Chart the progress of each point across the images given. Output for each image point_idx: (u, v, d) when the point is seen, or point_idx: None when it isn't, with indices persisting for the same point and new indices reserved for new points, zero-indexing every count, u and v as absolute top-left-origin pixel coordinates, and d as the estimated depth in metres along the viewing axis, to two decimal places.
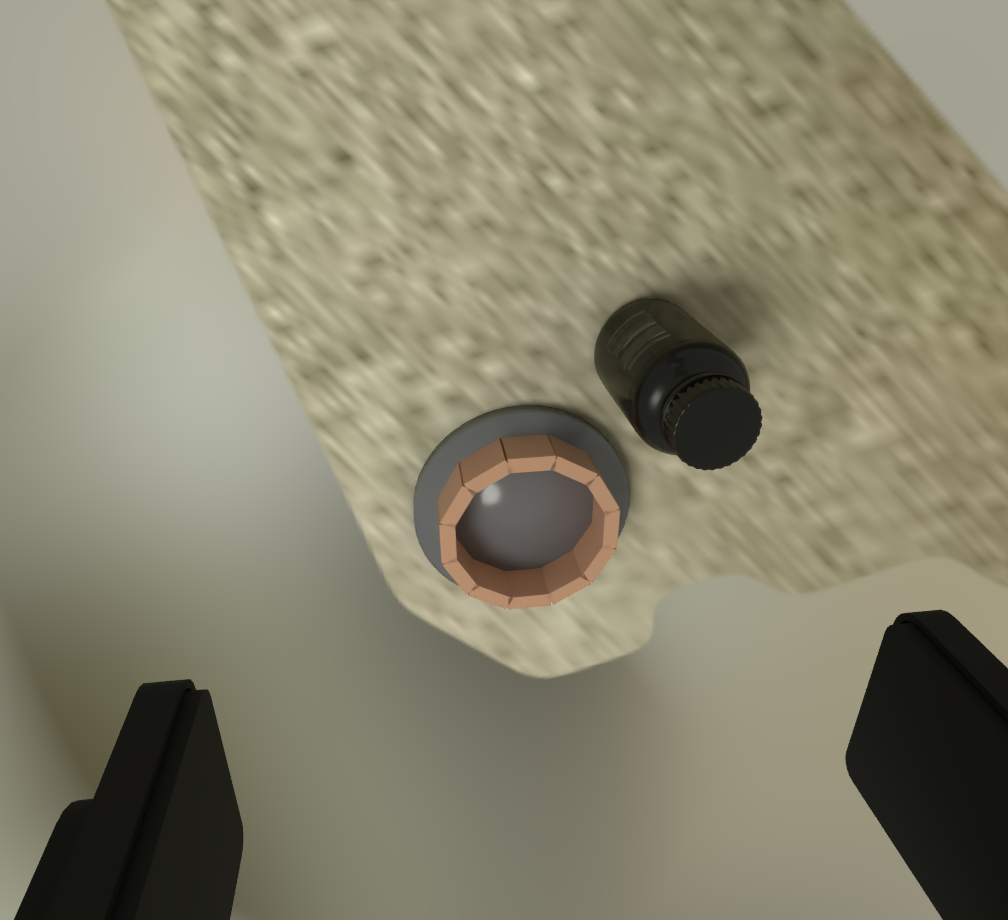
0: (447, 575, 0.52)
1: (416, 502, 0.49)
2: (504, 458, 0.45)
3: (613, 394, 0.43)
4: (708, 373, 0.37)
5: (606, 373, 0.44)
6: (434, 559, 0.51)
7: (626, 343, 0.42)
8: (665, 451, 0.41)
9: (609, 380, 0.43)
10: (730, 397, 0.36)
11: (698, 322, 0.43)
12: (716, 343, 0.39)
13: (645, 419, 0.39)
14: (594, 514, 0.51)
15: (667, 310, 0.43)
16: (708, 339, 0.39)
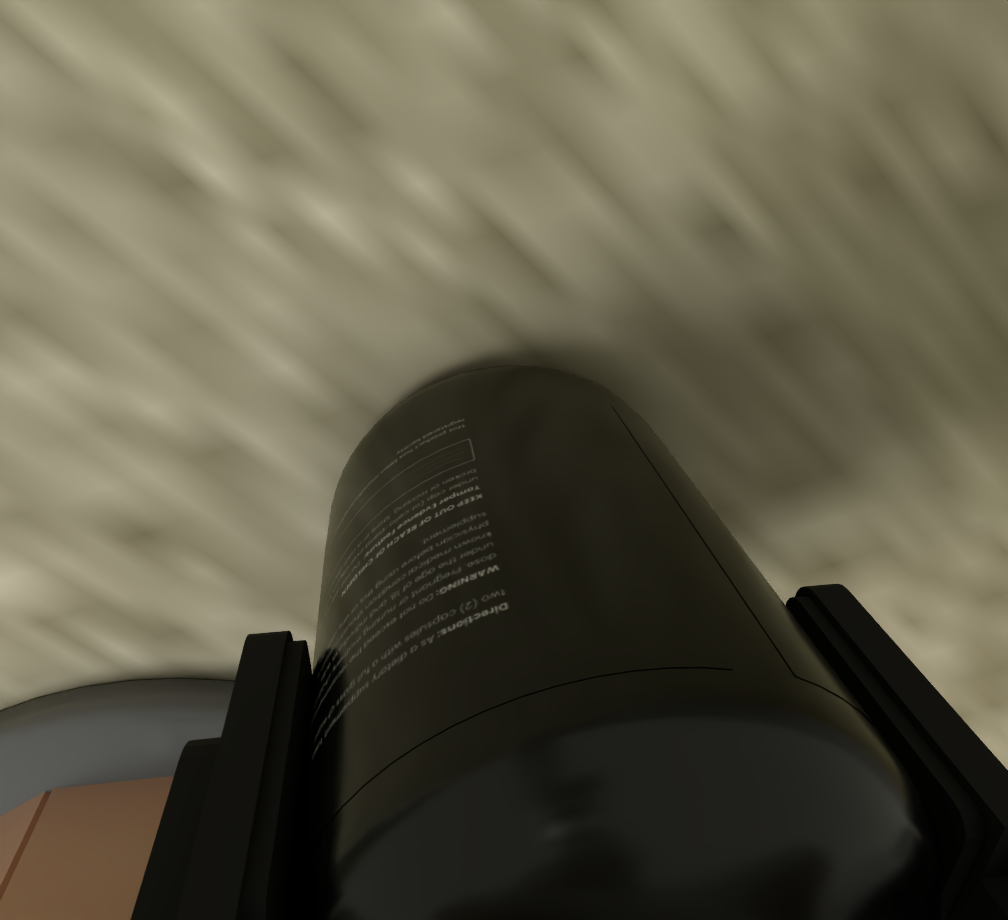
0: None
1: None
2: None
3: None
4: None
5: None
6: None
7: (352, 579, 0.10)
8: None
9: None
10: None
11: (674, 474, 0.11)
12: (768, 703, 0.06)
13: None
14: None
15: (550, 424, 0.11)
16: (716, 660, 0.07)
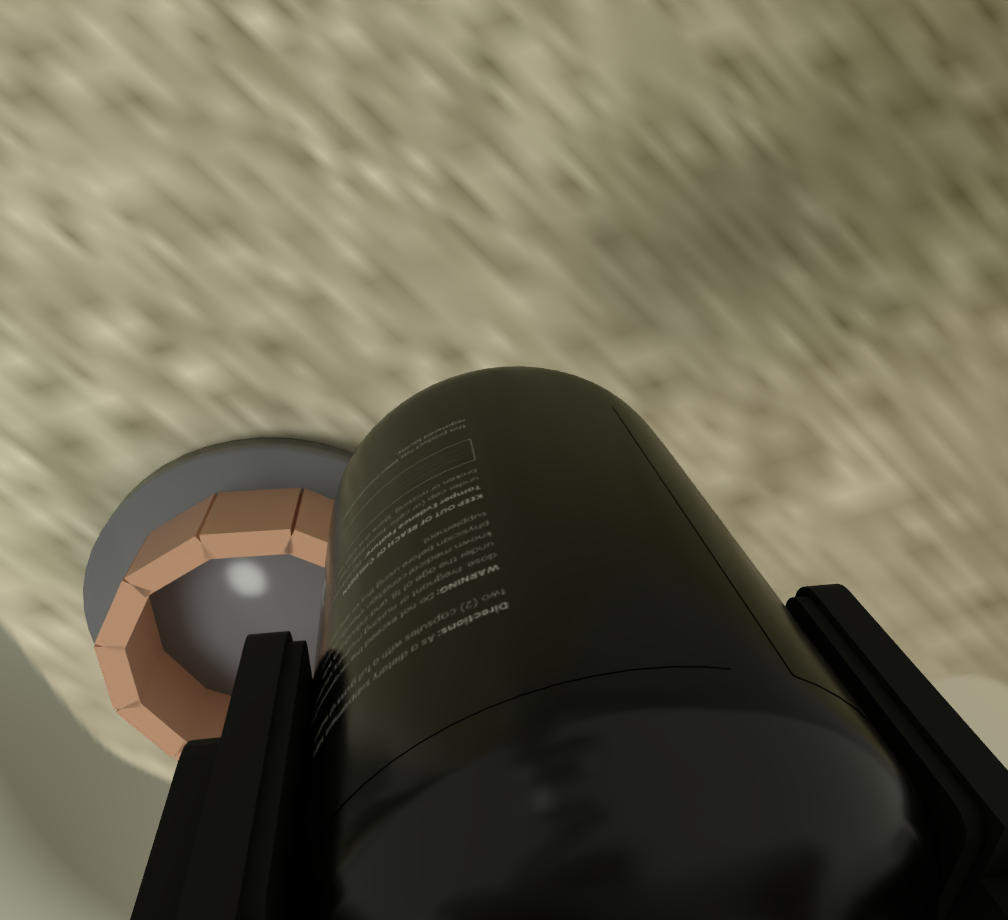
0: None
1: (86, 599, 0.29)
2: (197, 532, 0.25)
3: None
4: None
5: None
6: None
7: (354, 579, 0.10)
8: None
9: None
10: None
11: (674, 475, 0.11)
12: (766, 702, 0.06)
13: None
14: None
15: (550, 424, 0.11)
16: (715, 660, 0.07)
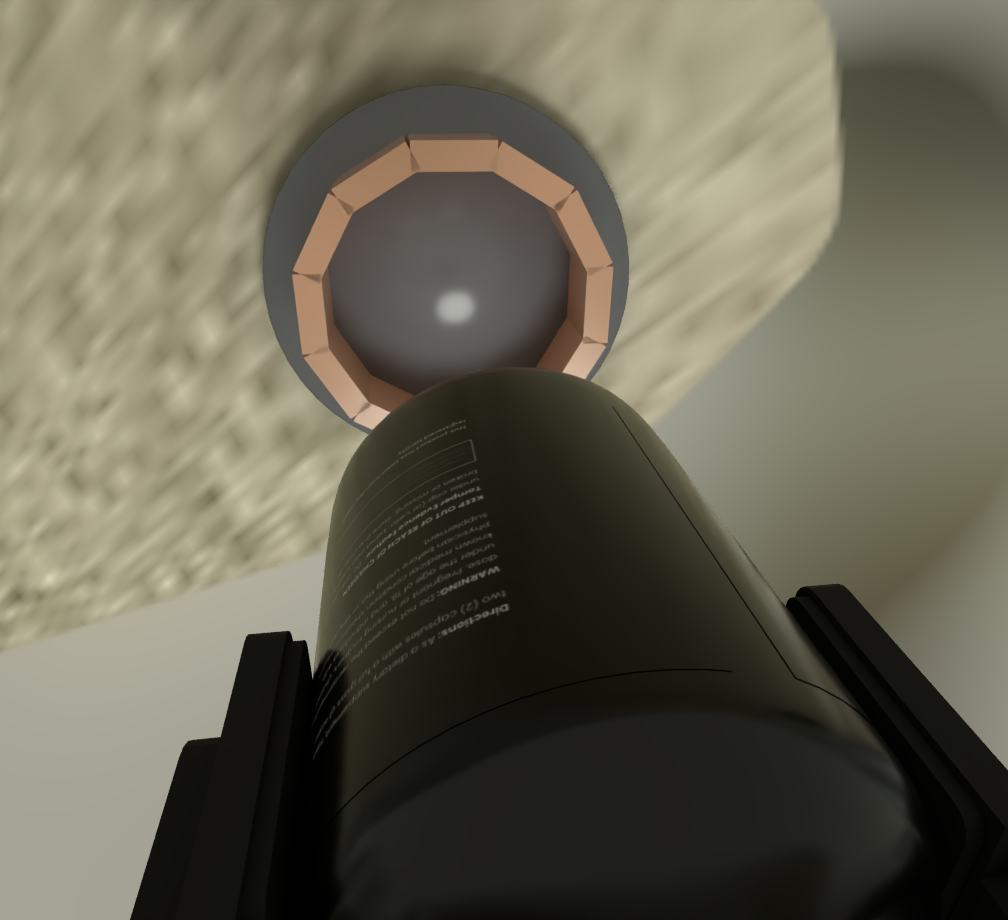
0: None
1: None
2: (306, 355, 0.28)
3: None
4: None
5: None
6: None
7: (354, 580, 0.10)
8: None
9: None
10: None
11: (675, 476, 0.11)
12: (768, 705, 0.06)
13: None
14: None
15: (551, 425, 0.11)
16: (716, 662, 0.07)
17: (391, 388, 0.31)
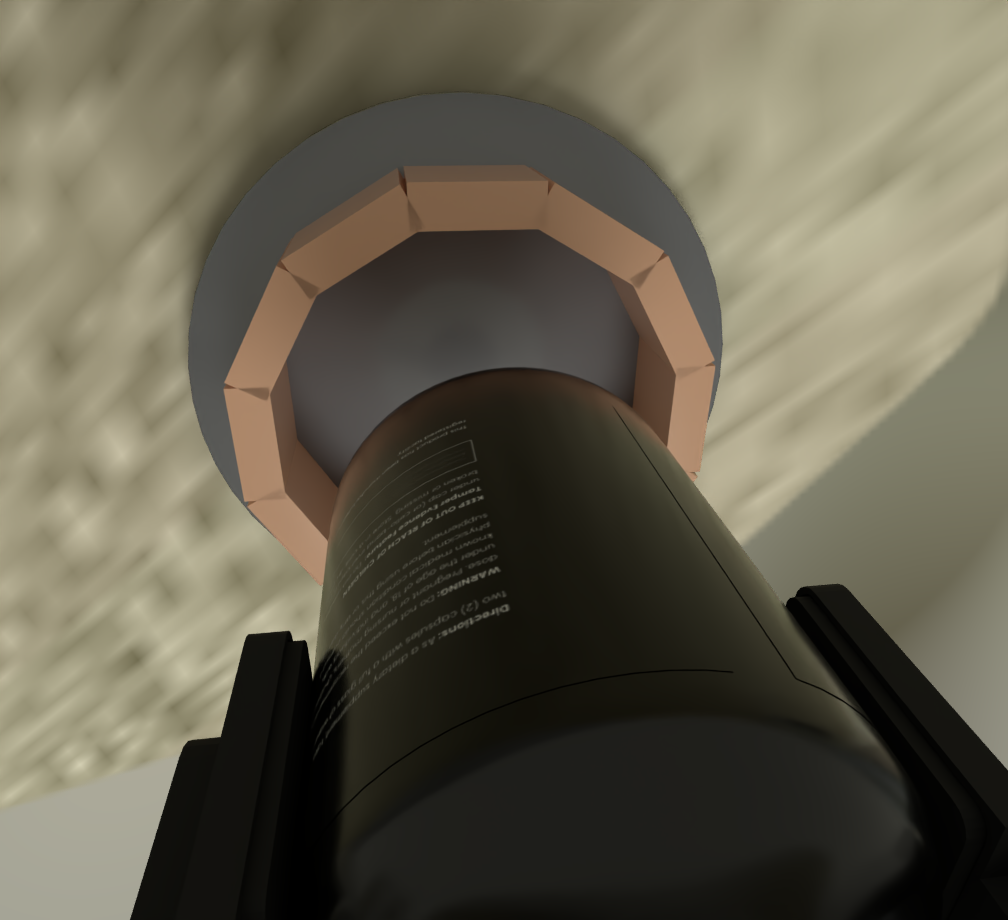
0: None
1: None
2: None
3: None
4: None
5: None
6: None
7: (354, 581, 0.10)
8: None
9: None
10: None
11: (675, 476, 0.11)
12: (769, 706, 0.06)
13: None
14: None
15: (551, 425, 0.11)
16: (717, 662, 0.07)
17: None
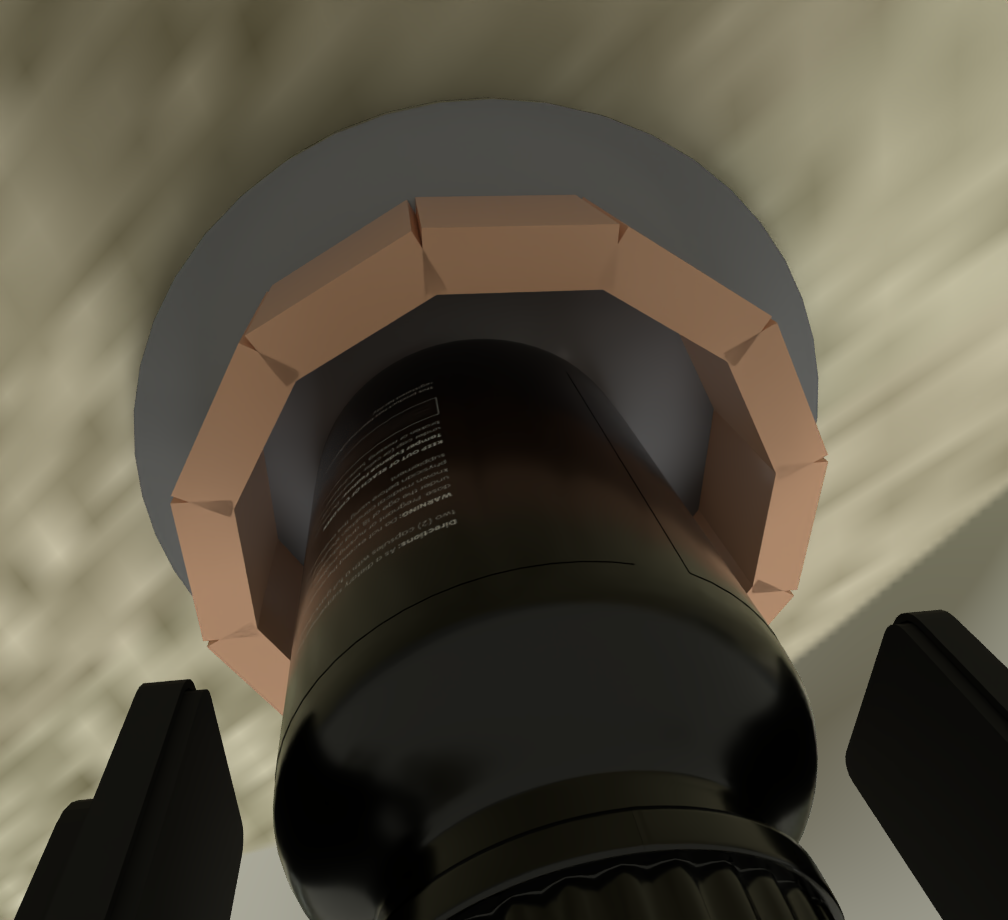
0: None
1: None
2: None
3: None
4: (593, 842, 0.06)
5: None
6: None
7: (332, 516, 0.11)
8: None
9: None
10: None
11: (616, 428, 0.12)
12: (660, 588, 0.08)
13: None
14: None
15: (507, 384, 0.12)
16: (622, 558, 0.08)
17: None
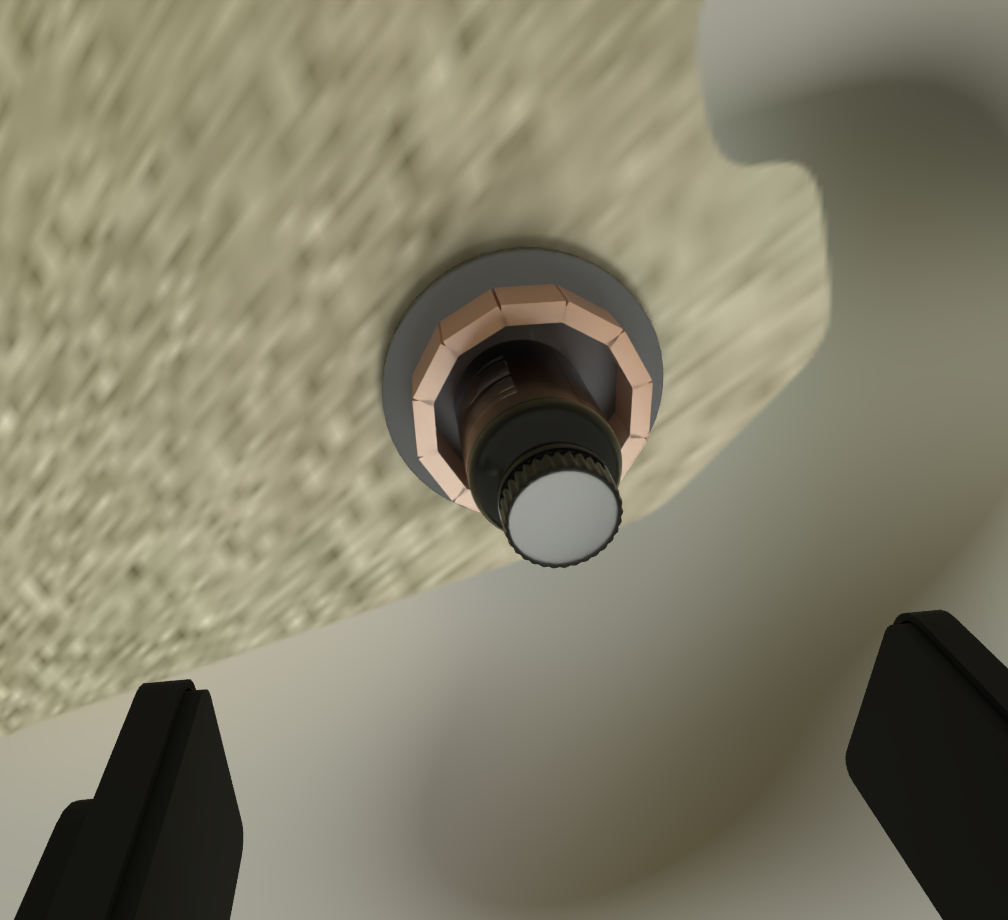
0: None
1: None
2: (419, 456, 0.37)
3: None
4: (550, 446, 0.29)
5: None
6: None
7: (473, 399, 0.34)
8: None
9: None
10: (574, 479, 0.28)
11: (568, 369, 0.35)
12: (570, 403, 0.30)
13: (484, 500, 0.31)
14: None
15: (529, 355, 0.35)
16: (561, 397, 0.31)
17: None
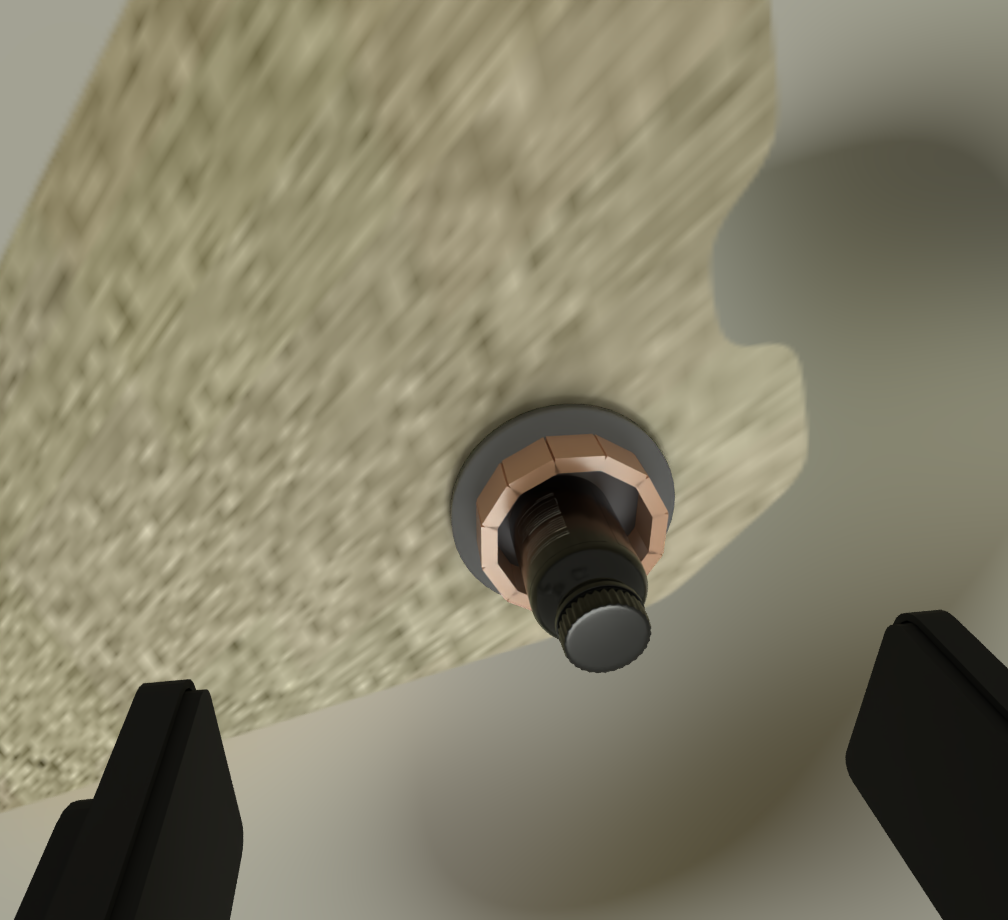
0: None
1: None
2: None
3: None
4: (598, 584, 0.38)
5: (516, 552, 0.45)
6: None
7: (531, 531, 0.43)
8: None
9: (518, 561, 0.45)
10: (617, 612, 0.37)
11: (604, 506, 0.44)
12: (611, 546, 0.40)
13: (543, 617, 0.40)
14: None
15: (574, 494, 0.44)
16: (604, 540, 0.40)
17: None
